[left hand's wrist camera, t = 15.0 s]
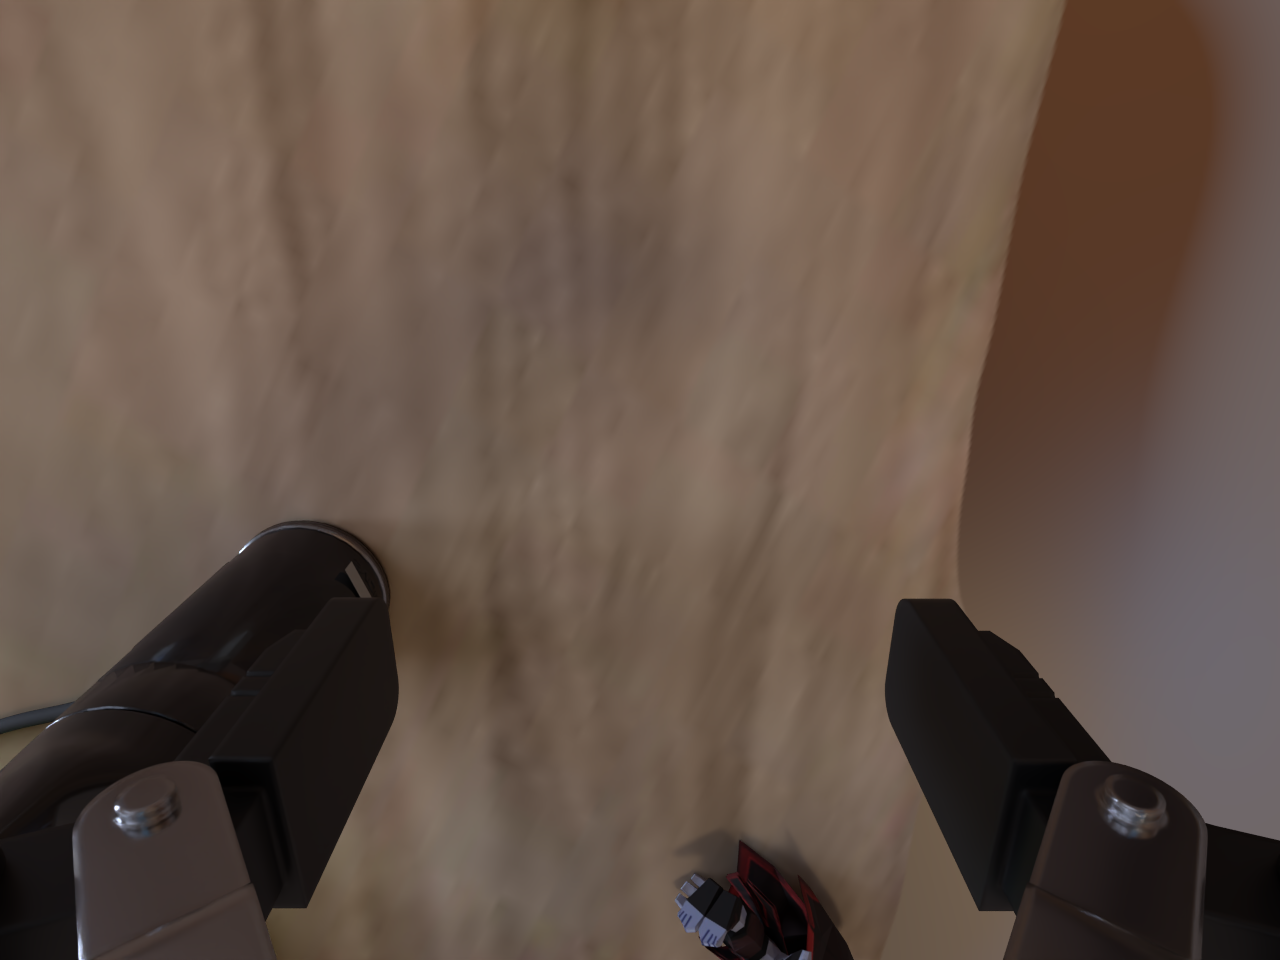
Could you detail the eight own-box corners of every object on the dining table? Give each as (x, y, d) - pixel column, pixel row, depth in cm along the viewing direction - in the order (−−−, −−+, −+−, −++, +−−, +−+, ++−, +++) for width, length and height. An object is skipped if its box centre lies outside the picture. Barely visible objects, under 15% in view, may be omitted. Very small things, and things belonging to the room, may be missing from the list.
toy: (738, 1020, 42) (853, 1131, 47) (823, 872, 46) (920, 990, 51) (621, 917, 52) (728, 1019, 57) (700, 803, 56) (792, 909, 61)
